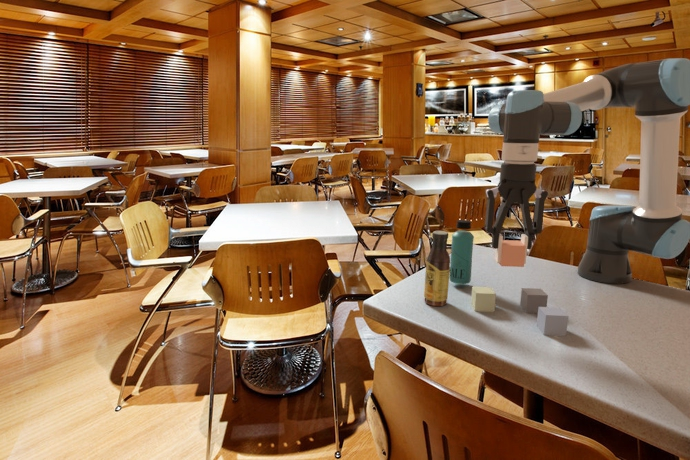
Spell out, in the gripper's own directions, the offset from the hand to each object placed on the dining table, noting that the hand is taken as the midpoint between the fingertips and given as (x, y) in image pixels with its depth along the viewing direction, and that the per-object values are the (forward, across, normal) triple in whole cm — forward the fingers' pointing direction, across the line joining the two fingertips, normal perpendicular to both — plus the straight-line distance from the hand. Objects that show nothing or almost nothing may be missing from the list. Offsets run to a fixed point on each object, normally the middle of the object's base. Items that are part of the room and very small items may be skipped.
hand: (509, 261), depth 108 cm
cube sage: (+16, -3, +10) cm, 19 cm away
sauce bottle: (+16, -15, +12) cm, 25 cm away
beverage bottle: (+16, -6, +27) cm, 32 cm away
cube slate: (+16, +10, -3) cm, 19 cm away
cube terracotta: (0, 0, 0) cm, 0 cm away
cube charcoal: (+16, +10, +10) cm, 21 cm away
